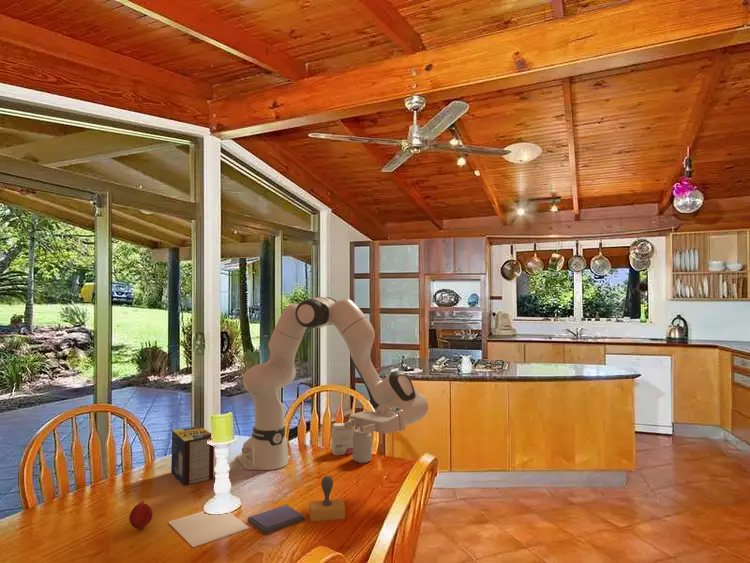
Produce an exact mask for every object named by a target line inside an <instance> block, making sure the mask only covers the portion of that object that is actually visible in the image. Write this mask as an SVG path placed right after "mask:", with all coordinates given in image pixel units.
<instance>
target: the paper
mask: <svg viewBox="0 0 750 563" xmlns="http://www.w3.org/2000/svg"><path fill="white" fill-rule="evenodd" d="M204 511H205V510H202V511H200V512H199V511H198V512H196V513H193V514H189V515H187V516H183V517H179V518H176V519H172V520H170V521H167V523H169V524H170V525H171V526H172V527H173V528H174V529H175V530H176V531H177V532H178V533H179V534H180V535H181V536H182V537H183V538H184V539H185V540H186V541H187V542H188V543H189V544H190V545H191V546H192V547H195V548H197V547H196V546H198V547H200V546H199V545H201V546H203V545H202V544H204V545H206V544H205V543H207V544H209V543H211V541H212V542H215V541H218V540H220V539H223V538H226V537H229V536H233V535H235V534H237V533H240V532H243V531H247V530H250V526H249V525H248V524H246V523H245V522H244V521H242V520H240V518H238V517H237V516H236V515H234V514H233V513H231V512H230V513H228V514H221V515H208V514H204ZM169 524H168V525H169ZM171 526H170V527H171ZM172 527H171V528H172ZM173 528H172V529H173ZM175 530H174V531H175ZM176 531H175V532H176ZM177 532H176V533H177ZM178 533H177V534H178ZM179 534H178V535H179ZM181 536H180V537H181ZM182 537H181V538H182ZM183 538H182V539H183ZM184 539H183V540H184ZM185 540H184V541H185ZM214 540H215V541H214ZM186 541H185V542H186ZM187 542H186V543H187ZM208 542H209V543H208ZM188 543H187V544H188ZM189 544H188V545H189ZM190 545H189V546H190ZM191 546H190V547H191Z"/></svg>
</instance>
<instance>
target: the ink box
mask: <svg viewBox="0 0 750 563" xmlns="http://www.w3.org/2000/svg"><path fill="white" fill-rule="evenodd" d="M344 423H345V422H337V423H332V430H331V431H332V433H331V434H332V435H331V437H332V438H331V439H332V441H331V443H332V444H331V452H332V454H333V455H334V456H341V455H353V433H354V432H355V426H352V427H351V428H349V429H346V428H344Z"/></svg>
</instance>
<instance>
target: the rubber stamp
mask: <svg viewBox="0 0 750 563" xmlns="http://www.w3.org/2000/svg"><path fill="white" fill-rule="evenodd" d="M333 486H334V480H333V477H331V475H326V476H323V478H322V479H321V488H322V492H323V494H324V500H313V501H309V504H308V505H309V506H308V508H309V509H308V511H309V512H308V514H309V519H310V522H312V523H314V522H322V521H323V522H325V521H335V520H345V519H346V518H345V517H346V506H345V503H344V501H343V499H342V498H336V499H330V495H331V492H332V488H333Z"/></svg>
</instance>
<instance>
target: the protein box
mask: <svg viewBox="0 0 750 563" xmlns="http://www.w3.org/2000/svg"><path fill="white" fill-rule="evenodd" d="M211 434H212V433H211V432H210V431H208V430H207V429H205V428H204V427H202V426H201V425H197V426H192V427H191V426H190V427H184V428H179V429H173V430H171V461H170V462H171V463H170V464H171V469H170V470H171V471H170V472H171V474H172V475H173V476H174V477H175V478H176V479H177V481H178V482H179V483H180V484H181V485H182V486H183V487H186V486H191V485H195V484H200V483H202V482H203V483H204V482H208V481H213V480H214V473H215V472H214V470H215V469H214V468H215V465H214V462H215V457H214V456H215V455H214V454H215V446H214V447H213V446H211V445H209V444H207V440H208V439H209V438H210V437H211Z"/></svg>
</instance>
